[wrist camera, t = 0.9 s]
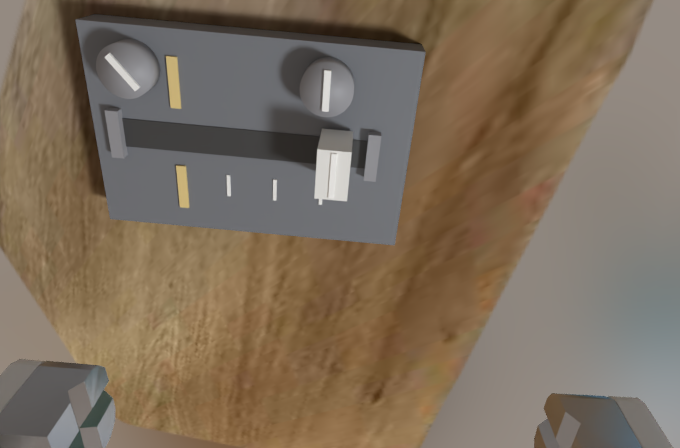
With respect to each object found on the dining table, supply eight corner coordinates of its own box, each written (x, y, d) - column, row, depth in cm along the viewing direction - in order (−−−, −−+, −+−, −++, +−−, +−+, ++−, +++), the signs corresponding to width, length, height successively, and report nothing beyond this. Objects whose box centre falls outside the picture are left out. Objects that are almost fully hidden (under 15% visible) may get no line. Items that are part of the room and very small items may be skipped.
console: (94, 14, 39) (59, 24, 35) (421, 44, 39) (428, 58, 35) (124, 203, 48) (98, 231, 43) (393, 228, 48) (395, 258, 43)
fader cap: (322, 128, 40) (317, 149, 36) (353, 131, 40) (351, 152, 36) (319, 174, 42) (314, 199, 38) (348, 176, 42) (346, 202, 38)
